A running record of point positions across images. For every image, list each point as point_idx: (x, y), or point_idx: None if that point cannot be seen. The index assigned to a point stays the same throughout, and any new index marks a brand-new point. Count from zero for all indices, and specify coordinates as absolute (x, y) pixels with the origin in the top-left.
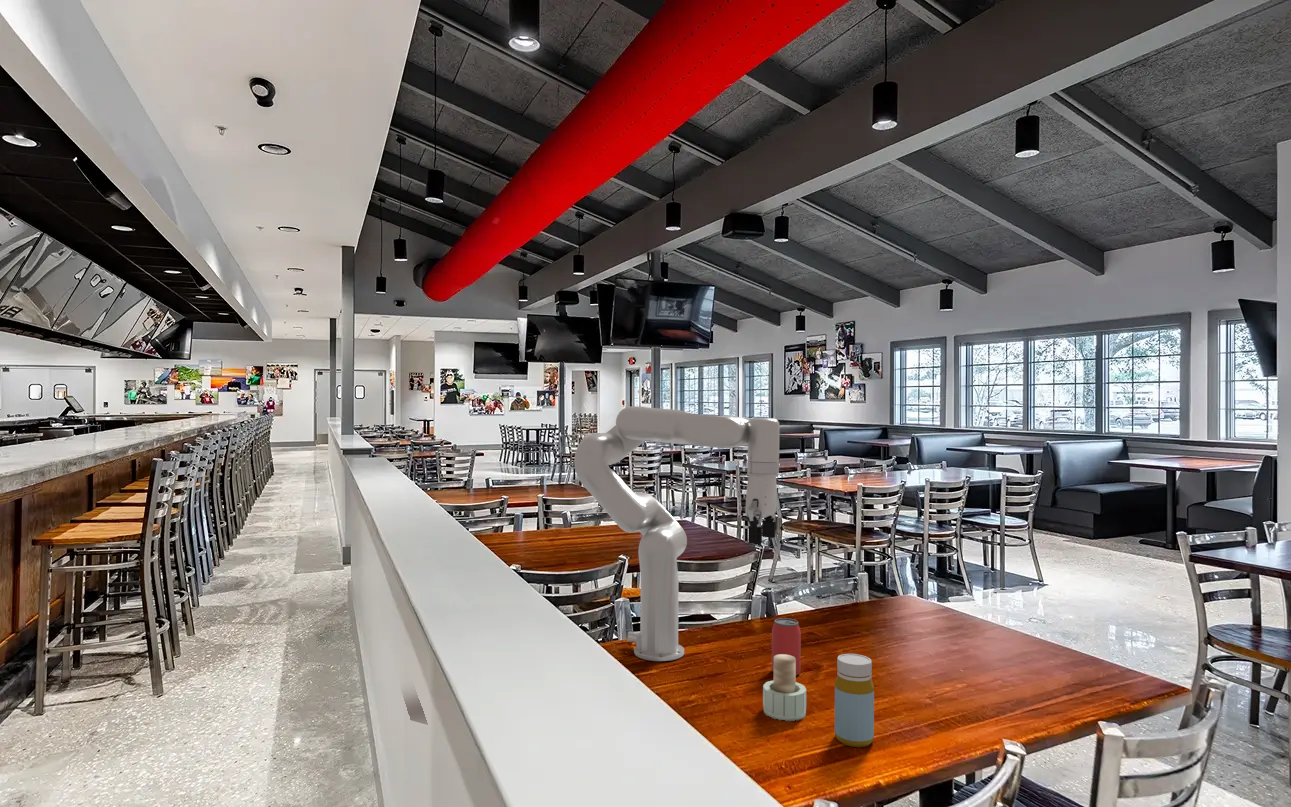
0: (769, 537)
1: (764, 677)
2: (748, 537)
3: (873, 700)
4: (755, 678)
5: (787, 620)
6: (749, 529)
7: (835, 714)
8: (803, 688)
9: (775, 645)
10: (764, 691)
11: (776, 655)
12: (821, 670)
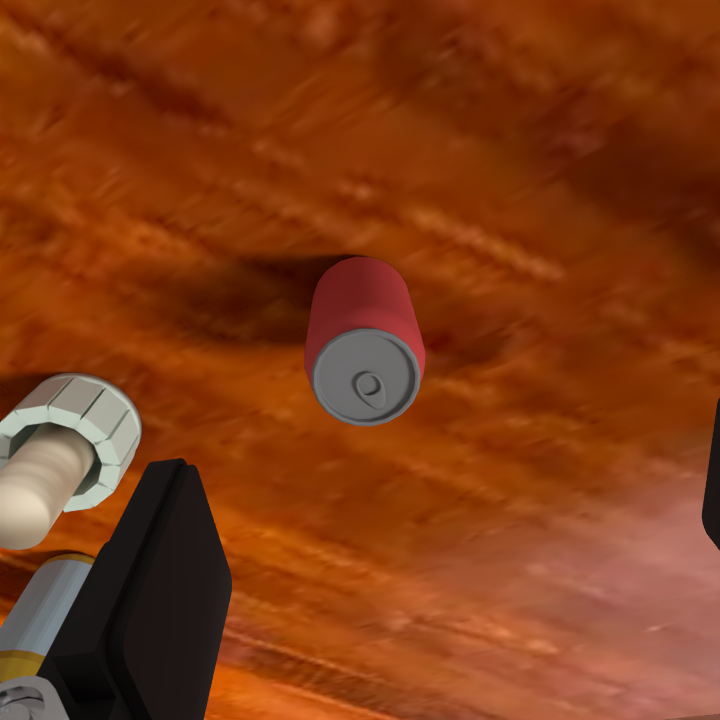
0: (712, 471)
1: (275, 263)
2: (129, 503)
3: None
4: (246, 243)
5: (403, 366)
6: (84, 615)
7: (19, 600)
8: (93, 499)
9: (311, 320)
10: (4, 418)
11: (6, 492)
12: (451, 376)
